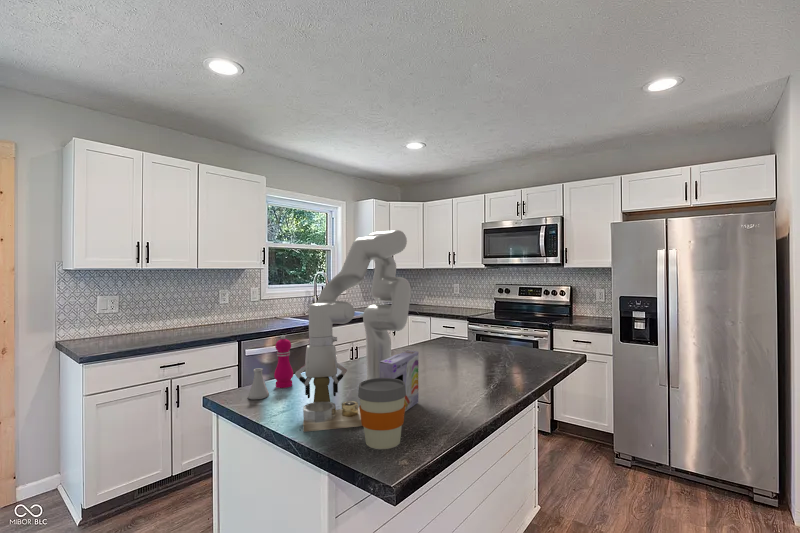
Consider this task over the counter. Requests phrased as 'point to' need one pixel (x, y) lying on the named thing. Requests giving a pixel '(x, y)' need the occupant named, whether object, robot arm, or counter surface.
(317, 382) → the cork
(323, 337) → the robot arm
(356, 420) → the fitting board
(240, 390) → the counter surface
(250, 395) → the flask
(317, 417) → the wide steel collar
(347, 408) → the narrow brass collar
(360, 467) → the counter surface
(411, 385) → the cake pan box
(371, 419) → the reusable coffee cup
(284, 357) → the pepper mill
